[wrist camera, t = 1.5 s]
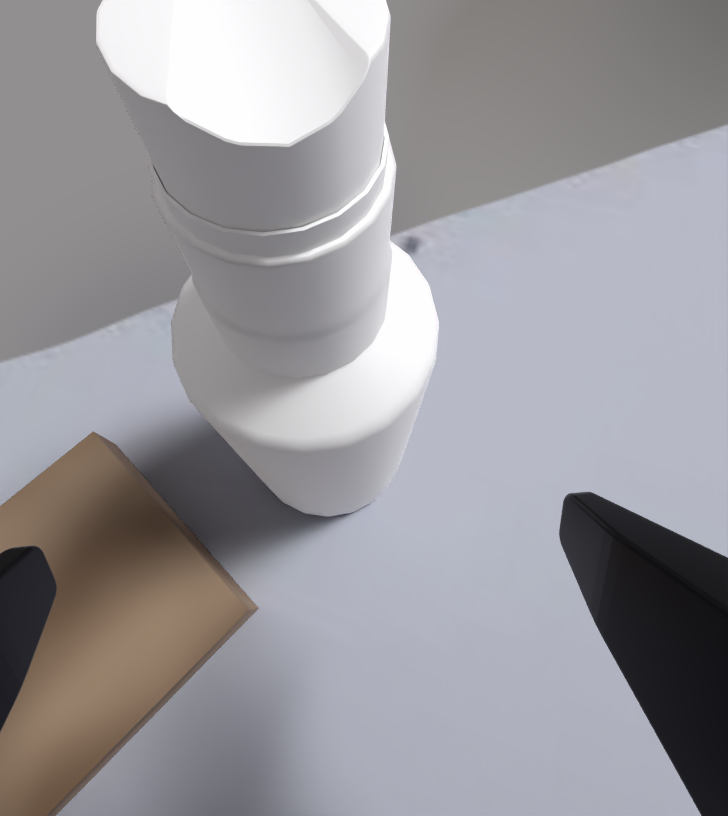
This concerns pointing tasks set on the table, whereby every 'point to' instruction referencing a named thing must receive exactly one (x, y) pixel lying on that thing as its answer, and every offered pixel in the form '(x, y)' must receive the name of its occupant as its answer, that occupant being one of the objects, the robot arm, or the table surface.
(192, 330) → the spray bottle
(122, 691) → the brown flat square block
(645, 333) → the table surface
